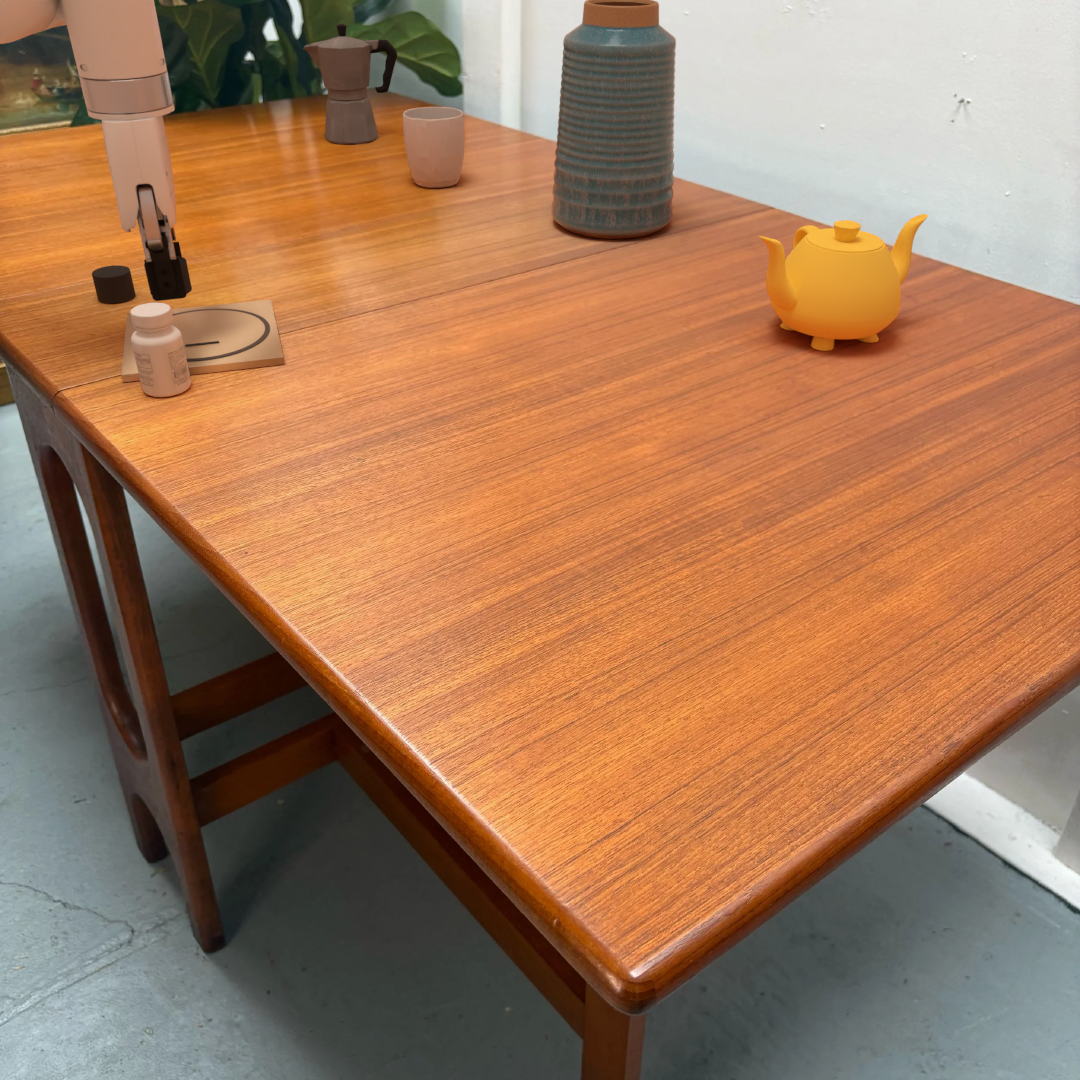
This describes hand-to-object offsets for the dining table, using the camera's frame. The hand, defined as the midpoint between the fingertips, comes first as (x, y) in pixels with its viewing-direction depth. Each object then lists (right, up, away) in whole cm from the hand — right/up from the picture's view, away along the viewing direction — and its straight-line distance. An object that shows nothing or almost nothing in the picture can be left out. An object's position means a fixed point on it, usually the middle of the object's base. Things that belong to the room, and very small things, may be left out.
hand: (169, 288), depth 102 cm
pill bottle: (+2, -11, -7) cm, 13 cm away
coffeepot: (+5, +45, +76) cm, 88 cm away
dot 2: (0, 0, 0) cm, 0 cm away
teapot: (+67, -3, +6) cm, 67 cm away
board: (+3, -5, +2) cm, 6 cm away
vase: (+47, +18, +36) cm, 62 cm away
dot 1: (-10, +2, +12) cm, 16 cm away
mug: (+21, +30, +54) cm, 65 cm away
